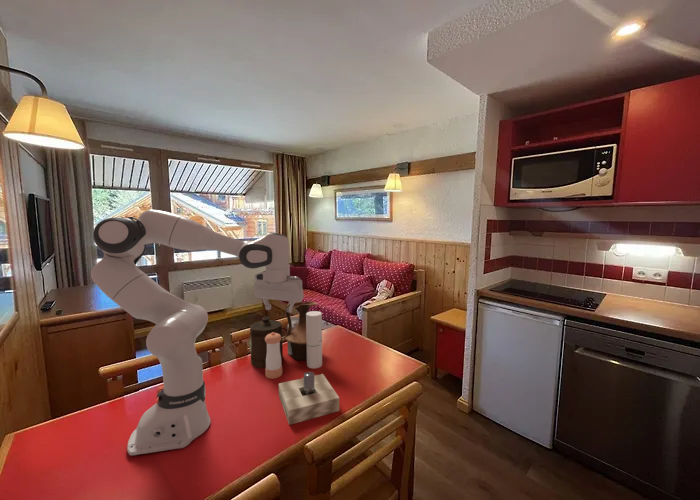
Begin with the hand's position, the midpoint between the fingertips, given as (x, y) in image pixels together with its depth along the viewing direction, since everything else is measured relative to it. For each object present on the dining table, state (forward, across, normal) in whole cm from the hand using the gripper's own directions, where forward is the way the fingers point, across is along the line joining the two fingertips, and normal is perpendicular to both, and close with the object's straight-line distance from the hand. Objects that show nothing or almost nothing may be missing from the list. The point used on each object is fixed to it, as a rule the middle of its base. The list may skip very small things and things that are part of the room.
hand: (278, 310), depth 114 cm
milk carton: (+33, +12, -33) cm, 48 cm away
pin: (+32, -14, +2) cm, 35 cm away
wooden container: (+33, +21, -20) cm, 44 cm away
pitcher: (+33, +7, -30) cm, 45 cm away
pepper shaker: (+33, +10, -11) cm, 37 cm away
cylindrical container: (+33, -2, -24) cm, 41 cm away
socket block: (+33, -13, +2) cm, 36 cm away
